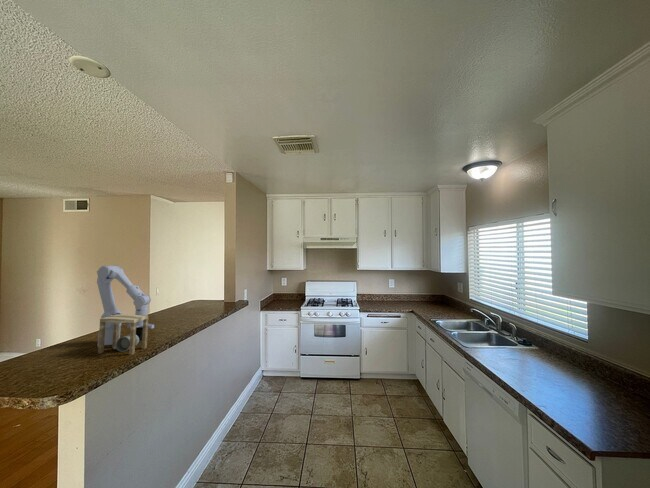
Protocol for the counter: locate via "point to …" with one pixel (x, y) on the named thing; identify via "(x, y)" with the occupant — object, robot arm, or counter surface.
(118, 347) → the ceramic mug
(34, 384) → the counter surface
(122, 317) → the counter shelf
